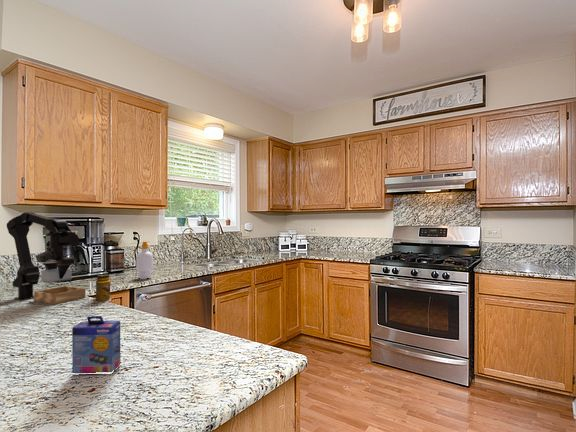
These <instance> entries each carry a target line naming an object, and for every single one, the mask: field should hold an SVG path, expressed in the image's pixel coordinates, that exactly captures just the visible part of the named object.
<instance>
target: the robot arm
mask: <svg viewBox="0 0 576 432" xmlns="http://www.w3.org/2000/svg"><path fill="white" fill-rule="evenodd" d="M33 224H35V225H36V224H37V225H40V226H43V227H44V228H45V229H46V230H48V231H49V232H48V233H46V236H47V237H49V247H47V248H46V251H44V252H40V253H39V254H36V255H35V256H34V257H35V258H36V262H37V263H41V264H42V265H43V266H45V267H46V268H47V270H51V269H59V278H60V279H62V278H63V277H64V275H65V273H66V271H67V270H68V269H70V266H72V264H76V259H75V257H71V256H70V257H68V256H67V255H65V251H67V247H76V246H78V244H79V242H80V237H79V235H78V234H76V231H72V229H71V228H70V226H69V224H68V223H67V220H66V219H62V218H52V217H48V216H44V215H41V214H37V213H36V212H32V211H29V212H22V213H21V214H20V215H18V216H16V217H13V218H11V219H10V220H8V222H7V223H6V229H7V232H8V234H10V236H11V237H13V239H14V244H15V249H16V254H17V260H18V263H19V267H18V269H17V271H16V277H15V279H14V280H13V281H12V287H13V288H17V289H18V290H17V294H18V295H17V297H14V299H15V300H21V301H23V300H29V299H34V285H38V283H39V279H40V278H41V276H40V274H41V272H40V269H39V266H38V265H35V264H33V260H32V256H31V251H30V246H29V241H28V237H27V236H28V234H29V233H30V227H31V226H33Z"/></svg>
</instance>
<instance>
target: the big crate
mask: <svg viewBox="0 0 576 432" xmlns="http://www.w3.org/2000/svg"><path fill="white" fill-rule="evenodd" d="M33 296H34V298H33V301H34V302H37V303H43V304H48V305H49V304H51V305H57V304H62V303H67V302H72V301H75V300H81V299H85V298H86V287H85V288H84V287H77V286H68V285H63V286H59V287H52V288H47V289H41V290H37V291H33Z"/></svg>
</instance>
